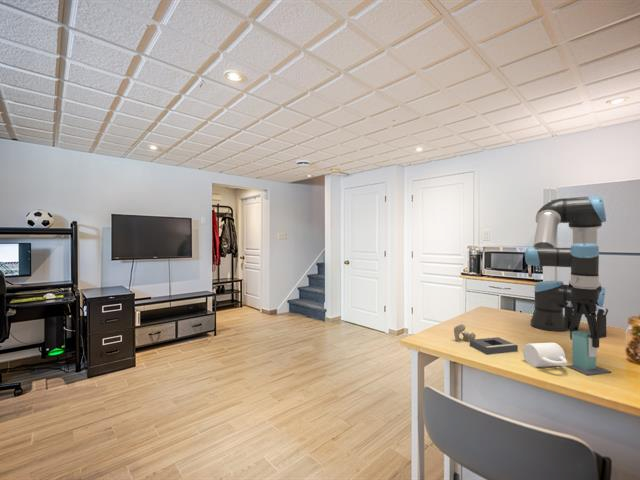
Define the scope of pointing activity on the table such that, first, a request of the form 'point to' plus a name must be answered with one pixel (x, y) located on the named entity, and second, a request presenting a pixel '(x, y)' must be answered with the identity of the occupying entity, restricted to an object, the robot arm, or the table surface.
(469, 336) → the bone
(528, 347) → the mug
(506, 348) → the grey socket block
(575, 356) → the plug
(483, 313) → the table surface
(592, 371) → the mat
